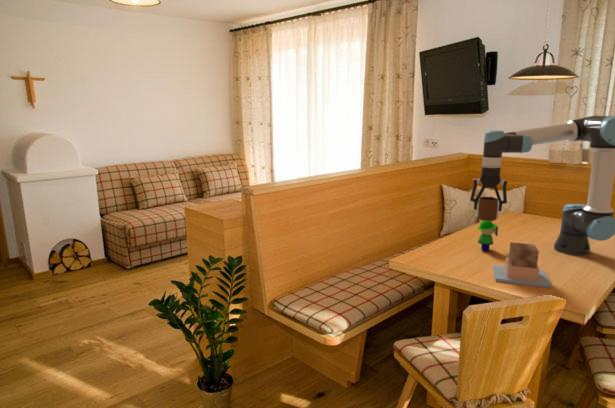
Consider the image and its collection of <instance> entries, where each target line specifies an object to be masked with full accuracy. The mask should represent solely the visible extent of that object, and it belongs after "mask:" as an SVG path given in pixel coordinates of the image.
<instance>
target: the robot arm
mask: <svg viewBox="0 0 615 408" xmlns="http://www.w3.org/2000/svg"><path fill="white" fill-rule="evenodd" d="M483 138H484V140H483V153H482V154H483V155H482V163H481V165H482V167H481V174H480V175H481V176H480V178H473V187H472V191H471V194H470V201H471V202H473V203H474V204H473V209H474V210H475V213H476V214H475V218H477V219H479V218H478V210H479V200H480V197H481V196H482V195H483V193H484V191H485V189H488V188H490V189H494V192H495V196H496V198H497V199H498V208H497V217H496V220H499V212H502V210H503V209H502V208H503V205H504V204H507V203H508V197H507V196H508V195H507V185H508V181H507V180H506V179H502V178H501V170H502V169H501V167H502V159H503V158H502V157H503V154H505V153H506V154H508V153H510V154H511V153H512V154H513V153H514V154H516V153H517V154H522V153H523V154H524V153H529V152H531V150H532V147H533V146H536V145H543V144H549V143H556V142H562V141H568V142H576V141H578V142H579V141H581V142H588V143H590V144H589V148H590V149H591V151H593V154H592V159H591V160H592V163H591V169H590V178H589V185H588V186H589V187H588V193H587V201H586V204H582V203H567V204H565V205H563V210H562V215H561V217H562V218H561V223H560V231H559V234H558V236H557V238H556V240H555V242H554V244H553V249H554V250H556V251H557V252H560V253H564V254H567V255H573V256H587V255H591V254H590V253H591V245H590V242H589V241H590V240H589V239H591V240H595V241H599V242H602V241H604V242H605V241H607V240H609V239H610V238H612V237H613V236H615V218H614V213H615V212H614V209H613V208H612V207H611V203H612V197H613V196H612V195H613V189H614V188H613V187H614V181H615V115H591V116H587V117H581V118H577V119H570V120H568V121H567V122H566V123H560V124H553V125H547V126H542V127H535V128H528V129H522V130H516V131H509V132H504V130H492V129H491V130H487V131H485V133H484V137H483ZM479 183H481V188H480V190H479V192H478V193H477V195H476V191H477V188H478V184H479ZM499 184H501V185H502V198H501V195H500V192H499V189H498V185H499ZM475 195H476V197H475Z"/></svg>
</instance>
